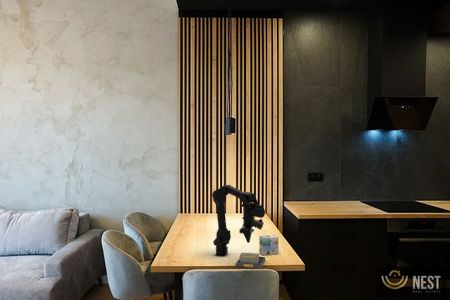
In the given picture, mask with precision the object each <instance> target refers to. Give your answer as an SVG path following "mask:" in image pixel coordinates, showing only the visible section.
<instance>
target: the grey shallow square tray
mask: <svg viewBox="0 0 450 300" xmlns="http://www.w3.org/2000/svg"><path fill="white" fill-rule="evenodd" d="M265 262H266V256H259V264H248V263H240V257H239V258H238V259H237V261H236V262H235V267H236V268H246V269H247V268H249V269H262V268H263V266H264V265H265V264H264V263H265Z"/></svg>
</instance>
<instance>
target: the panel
mask: <svg viewBox="0 0 450 300" xmlns="http://www.w3.org/2000/svg"><path fill="white" fill-rule="evenodd" d="M259 257H260V253H254V252H240V254H239V258H240V263H248V264H259Z"/></svg>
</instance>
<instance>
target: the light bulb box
mask: <svg viewBox="0 0 450 300" xmlns="http://www.w3.org/2000/svg"><path fill="white" fill-rule="evenodd" d="M258 238H259V239H258V240H259V242H258V243H259V246H258V247H259V250H258V251H259V254H260V255H262V256H273V255H279V253H280V252H279V251H280V250H279V248H280V247H279V240H280V239H279V236H278V235H276V234H264V235H259V237H258Z"/></svg>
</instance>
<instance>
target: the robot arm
mask: <svg viewBox="0 0 450 300" xmlns="http://www.w3.org/2000/svg"><path fill="white" fill-rule="evenodd" d="M229 195H231V196H233V197H235V198H238V199H239V201H240V202H241V203H242V204H240V207H242V209H243V214H242V215H243V216H242V220H243V223H242V227H240V229H239V234H243V236H244V238H245V240H246V243H248V244H250V241H251V238H252V233H253V232H254V231H255V228H256V229H258V230H260V231H261V230H262V229H263V227H264V223H265V222H263V219H262V218H264V217H265V215H266V210H265V208H264V206H263V205H262V204H260V203H259V202H258V200H257V197H256V194H255V193H254V192H249V191H243V190H241V189H238V188H236V187H234V186H233V185H230V184H224V185H223V186H221V187H219V188H217V189H216V190H213V192H212V195H211V196H212V201H213V202H214V205H215V206H216V216H217V217H216V219H217V230H216V233H215V234H216V235H215V238H214V240H213V242H212V243H213V245H214V246H215V254H214V256H218V257H226V256H227V255H228V254H229V253H228V252H229V251H228V250H229V249H228V248H229V247H228V245H229V244H230V240H231V237H232V236H231V230H230V229H228V228H227V219H226V209H225V203H226V201H227V196H229ZM256 218H259V219H256Z"/></svg>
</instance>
